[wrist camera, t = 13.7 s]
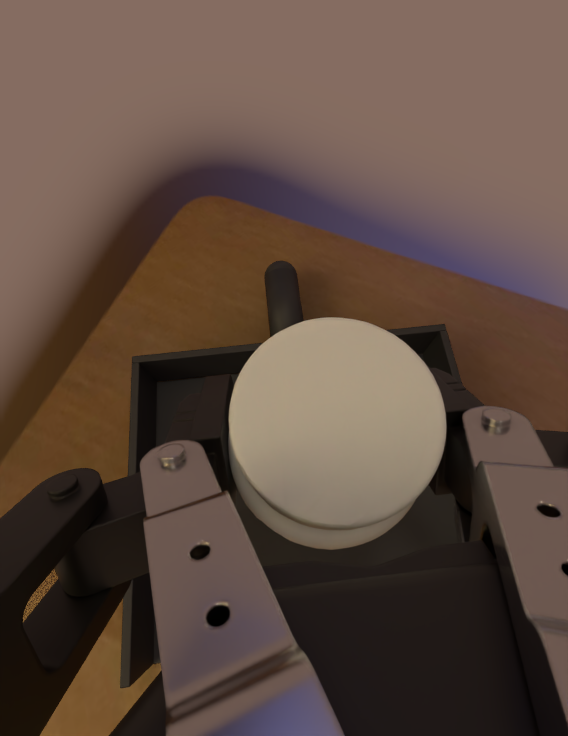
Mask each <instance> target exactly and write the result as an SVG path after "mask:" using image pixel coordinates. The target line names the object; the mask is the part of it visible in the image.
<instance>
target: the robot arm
mask: <svg viewBox="0 0 568 736" xmlns="http://www.w3.org/2000/svg"><path fill="white" fill-rule="evenodd" d="M426 366H427V367H428V369H429V370H430V372H431V373H432V374H433V376H434V378H435V380H436V383H437V385H438V387H439V389H440V392H441V395H442V399H443V402H444V408H445V413H446V442H445V447H444V451H443V455H442V458H441V461H440V463H439V466H438V468H437V470H436V472H435V474H434V476H433V478H432V479H431V481H430V483H429V484H428V485H429V486H430V488H431V489H432V491H433V493H434V494H435V495H443V494H451V493H452V494H453V495H454V496H455V500H454V519H455V526H456V533H457V540H458V543H453V544H445V545H436V546H428V547H425V548H422V549H420V550H417V551H414V552H412V553H409V554H406V555H404V556H401V557H398V558H396V559H393V560H390V561H388V562H385V563H382V564H379V565H375V566H365V565H355V564H345V563H335V562H325V561H315V560H311V561H303V562H294V563H286V564H278V565H269V566H261V563H260V561H259V559H258V557H257V555H256V552H255V550H254V548H253V546H252V543H251V541H250V539H249V537H248V534H247V532H246V530H245V528H244V525H243V523H242V521H241V519H240V517H239V514H238V512H237V510H236V508H235V507H236V493H237V486H236V484H235V481H234V479H233V475H232V472H231V468H230V463H229V453H228V434H229V407H230V401H231V397H232V393H233V389H234V387H233V381H232V376H231V374H225V375H216V376H206V378H205V382H204V385H203V389H202V392H201V393H196V394H189V395H188V396H187V397H186V398H185V399H184V400H183V401H181V402H180V403H179V406H178V409H177V411H176V414H175V417H174V419H173V423H172V424H171V427H170V430H169V432H168V435H167V438H166V440H165V443H164V444H161V445H159V446H157V447H155V448H153V449H152V450H150V451H149V452H148V453H147V454H146V455H145V456H144V457H143V458H142V460H141V462H140V472H138V473H135V474H133V475H130V476H128V477H124V478H121V479H118V480H115V481H112V482H108V483H105V484H103V483H102V480H101V477H100V474H99V473H98V472H97V471H95V470H93V469H88V468H79V469H73V470H68V471H65V472H62V473H59V474H57V475H54V476H52V477H50V478H48V479H47V480H45V481H43V482H42V483H40V484H39V485H38V486H37V487H35V488H34V489H33V490H32V491H31V492H30V493H29V494H27V495H26V496H25V497H24V498H23V499H22V500H21V501H20V502H18V503H17V504H16V505H15V506H14V507H13V508H12V509H11V510H9V511H8V512H7V513H6V514H5V515H4V516H3V517H2V518H0V736H39V735H40V734H41V732H42V731H43V729H44V727H45V726H46V724H47V722H48V721H49V719H50V717H51V716H52V714H53V712H54V711H55V709H56V707H57V706H58V704H59V702H60V701H61V699H62V698H63V696H64V694H65V693H66V691H67V689H68V688H69V686H70V684H71V683H72V681H73V679H74V678H75V676H76V674H77V673H78V671H79V669H80V668H81V666H82V664H83V663H84V661H85V660H86V658H87V656H88V655H89V653H90V651H91V650H92V648H93V646H94V645H95V643H96V641H97V640H98V638H99V636H100V635H101V633H102V631H103V630H104V628H105V627H106V625H107V623H108V622H109V620H110V618H111V617H112V615H113V613H114V612H115V610H116V608H117V607H118V605H119V603H120V602H121V600H122V598H123V597H124V595H125V593H126V592H127V590H128V588H129V586H130V584H131V581H132V579H134V578H136V577H139V576H141V575H144V574H147V573H149V572H150V580H151V588H152V596H153V604H154V612H155V621H156V629H157V637H158V645H159V653H160V661H161V669H162V671H161V672H160V673H159V674H158V676H157V677H156V678H155V679H154V681H153V682H152V683H151V684H150V685H149V687H148V688H147V689H146V690H145V692H144V693H143V694H142V695H141V697H140V698H139V699H138V700H137V702H136V703H135V704H134V705H133V707H132V708H131V709H130V710H129V711H128V713H127V714H126V715H125V716H124V718H123V719H122V720H121V721H120V723H119V724H118V725H117V726H116V728H115V729H114V730H113V731H112V733H111V734H110V735H109V736H568V432H558V431H543V430H534V428H533V426H532V424H531V422H530V421H529V420H528V419H527V418H526V417H525V416H523V415H522V414H520V413H518V412H515V411H513V410H510V409H506V408H502V407H496V406H485V405H484V404H483V403H482V402H480V401H479V400H478V399H477V398H476V397H475V396H474V395H473V394H471V393H470V392H469V391H468V390H466V388H465V387H464V386H463V385H461V384H460V383H458V381H457V380H456V379H455V378H454V377H452V376H451V375H450V374H449V373H446V372H444V371H442V370H439V369H437V368H430V367H429V366H428V365H426ZM53 569H55V571H56V574H57V576H58V578H59V579H58V580H57V581H56V582H55V584H54V585H53V586H52V587H51V589H50V590H49V591H48V592H47V594H46V595H45V596H44V597H43V599H42V600H41V601H40V602H39V604H38V605H37V606H36V607H35V609H34V610H33V611H32V612H31V614H30V615H29V616H28V617H27V619H26V620H25V621H24V622H23V614H24V610H25V607H26V605H27V603H28V600H29V599H30V597H31V596H32V594H33V593H34V592H35V591H36V589H37V588H38V587H39V586H40V585H41V583H42V582H43V581H44V580H45V579H46V577H47V576H48V575H49V574H50V573H51V571H52V570H53Z"/></svg>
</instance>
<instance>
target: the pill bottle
mask: <svg viewBox="0 0 568 736" xmlns="http://www.w3.org/2000/svg"><path fill="white" fill-rule="evenodd" d="M445 442H446V413H445V408H444V402H443V399H442V395H441V392H440V389H439V387H438V385H437V383H436V380H435V378H434V376H433V374H432V373H431V372H430V370H429V369H428V367H427V366H426V364H425V363H424V361H423V360H422V359H421V358H420V357H419V356H418V355H417V354H416V352H415V351H414V350H413V349H411V348H410V347H409V346H408V345H407V344H406V343H405V342H404V341H402V340H401V339H399V338H398V337H397V336H395V335H394V334H392V333H390V332H388V331H386V330H384V329H382V328H380V327H378V326H376V325H373V324H370V323H367V322H364V321H359V320H355V319H347V318H335V317H327V318H317V319H311V320H306V321H303V322H300V323H297V324H295V325H292V326H290V327H288V328H286V329H284V330H282V331H280V332H278V333H276V334H275V335H273V336H272V337H271V338H269V339H268V340H267V341H265V342H264V343H263V344H262V345H260V346H259V347H258V349H257V350H256V351H255V352H254V353H253V354H252V355H251V357H250V358H249V359H248V361H247V362H246V364H245V365H244V367H243V368H242V370H241V372H240V374H239V376H238V378H237V380H236V383H235V385H234V389H233V393H232V397H231V401H230V407H229V434H228V453H229V463H230V468H231V472H232V475H233V479H234V481H235V484H236V486H237V489H238V491H239V493H240V495H241V497H242V499H243V501H244V503H245V504H246V506H247V507H248V508H249V509H250V510H251V512H252V513H253V514H254V515H255V516H256V518H258V519H259V520H261V521H262V522H263V523H264V524H266V525H267V526H268V527H269V528H271V529H272V530H273V531H275V532H276V533H278V534H280V535H281V536H283V537H284V538H286V539H287V540H289V541H292V542H294V543H297V544H300V545H303V546H307V547H311V548H317V549H327V550H334V549H342V548H349V547H354V546H357V545H361V544H364V543H366V542H369V541H372V540H374V539H376V538H378V537H380V536H381V535H383V534H384V533H386V532H387V531H388V530H390V529H391V528H392V527H393V526H395V525H396V524H397V523H398V522H399V521H400V520H401V519H402V518H403V517H404V516H405V514H406V513H407V512H408V511H409V509H410V508H411V507H412V505H413V504H414V502H415V500H416V498H417V497H418V496H419V495H420V494H421V493H422V492H423V491H424V490H425V488H426V487H427V486H428V484H429V483H430V481H431V479H432V478H433V476H434V474H435V472H436V470H437V468H438V466H439V463H440V461H441V458H442V455H443V451H444V447H445Z"/></svg>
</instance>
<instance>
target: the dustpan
mask: <svg viewBox="0 0 568 736" xmlns="http://www.w3.org/2000/svg"><path fill="white" fill-rule="evenodd" d="M265 287H266V296H267V306H268V315H269V325H270V334H271V337H272V336H273V335H275V334H276V333H278V332H280V331H282V330H284V329H286V328H288V327H290V326H292V325H295V324H297V323H300V322H303V314H302V307H301V300H300V293H299V286H298V279H297V273H296V270H295V269H294V267H293V266H292V265H291V264H290V263H288V262H285V261H276V262H274V263H272V264H271V265H270V266H269V267H268V268H267V270H266V272H265ZM386 331H388V332H390V333H392V334H394V335H395V336H397V337H398V338H399V339H401V340H402V341H404V342H405V343H406V344H407V345H408V346H409V347H410V348H411V349H413V350H414V351H415V352H416V354H418V356H419V357H420V358H421V359H422V360H423V361H424V363H425V364H426V365H428V366H429V367H430V368H437V369H439V370H442V371H444V372H446V373H449V374H450V375H451V376H452V377H454V378H455V379H456V380H457V381H458V383H460V384H461V385H462V382H461V378H460V375H459V372H458V368H457V365H456V361H455V358H454V354H453V351H452V348H451V344H450V341H449V337H448V334H447V331H446V327H445V324H440V325H430V326H421V327H411V328H402V329H392V330H386ZM262 344H263V343H258V344H248V345H239V346H229V347H219V348H210V349H200V350H191V351H181V352H171V353H162V354H152V355H143V356H133V357H132V363H133V364H132V378H131V405H130V432H129V459H128V476H130V475H133V474H135V473H138V472H140V462H141V460H142V458H143V457H144V456H145V455H146V454H147V453H148V452H149V451H150V450H152V449H153V448H155V447H157V446H159V445H161V444H164V443H165V440H166V438H167V435H168V432H169V430H170V427H171V424H172V423H173V419H174V417H175V414H176V411H177V409H178V406H179V403H180V402H181V401H183V400H184V399H185V398H186V397H187V396H188V395H189V394H196V393H201V392H202V389H203V385H204V382H205V378H206V377H205V376H215V375H224V374H231V376H232V381H233V387H234V385H235V383H236V380H237V378H238V376H239V374H240V372H241V370H242V368H243V367H244V365H245V364H246V362H247V361H248V359H249V358H250V357H251V355H252V354H253V353H254V352H255V351H256V350H257V349H258V347H259V346H260V345H262ZM422 353H423V354H422ZM233 373H239V374H233ZM196 377H201V378H196ZM186 378H191V379H186ZM177 379H182V380H177ZM167 380H173V381H167ZM158 381H163V382H158ZM454 500H455V496H454V495H453V494H452V493H451V494H443V495H435V494H434V493H433V491H432V489H431V488H430V486H429V485H428V486H427V487H426V488H425V490H424V491H423V492H422V493H421V494H420V495H419V496H418V497H417V498H416V500H415V502H414V504H413V505H412V507H411V508H410V509H409V511H408V512H407V513H406V514H405V516H404V517H403V518H402V519H401V520H400V521H399V522H398V523H397V524H396V525H395V526H393V527H392V528H391V529H390V530H388V531H387V532H386V533H384V534H383V535H381V536H380V537H378V538H376V539H374V540H372V541H369V542H366V543H364V544H361V545H357V546H354V547H349V548H342V549H334V550H327V549H317V548H311V547H307V546H303V545H300V544H297V543H294V542H292V541H289V540H287V539H286V538H284V537H283V536H281V535H280V534H278V533H276V532H275V531H273V530H272V529H271V528H269V527H268V526H267V525H266V524H264V523H263V522H262V521H261V520H259V519H258V518H256V516H255V515H254V514H253V513H252V512H251V510H250V509H249V508H248V507H247V506H246V504H245V503H244V501H243V499H242V497H241V495H240V493H239V491H238V489H237V493H236V507H235V508H236V510H237V512H238V514H239V517H240V519H241V521H242V523H243V525H244V528H245V530H246V532H247V534H248V537H249V539H250V541H251V543H252V546H253V548H254V550H255V552H256V555H257V557H258V559H259V561H260V563H261V566H269V565H278V564H286V563H294V562H303V561H311V560H315V561H325V562H335V563H345V564H355V565H365V566H375V565H379V564H382V563H385V562H388V561H390V560H393V559H396V558H398V557H401V556H404V555H406V554H409V553H412V552H414V551H417V550H420V549H422V548H425V547H428V546H436V545H445V544H453V543H458V540H457V533H456V526H455V519H454ZM156 663H161V661H160V653H159V645H158V637H157V629H156V621H155V612H154V604H153V596H152V588H151V580H150V572H149V573H147V574H144V575H141V576H139V577H136V578H134V579H132V581H131V584H130V586H129V588H128V590H127V592H126V593H125V595H124V597H123V622H122V649H121V676H120V688H126V687H130V686H131V685H132V684H133V683H134V682H135V681H136V680H137V679H138V678H139V677H140V676H141V675H142V674H143V673H144V672H145V671H146V670H147V669H148V668H149V667H150V666H152V665H153V664H156Z"/></svg>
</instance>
